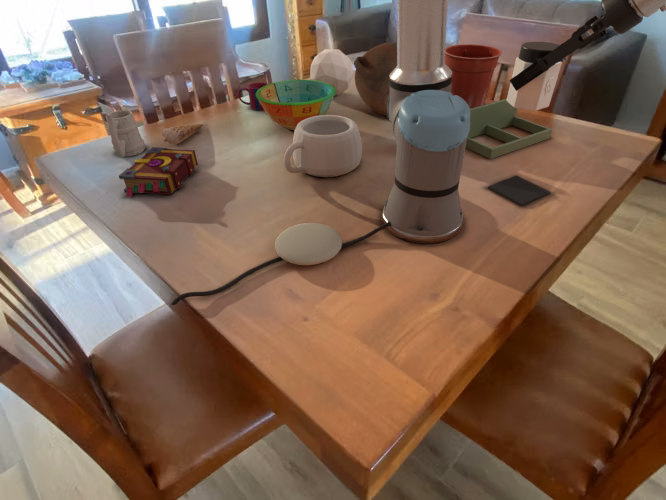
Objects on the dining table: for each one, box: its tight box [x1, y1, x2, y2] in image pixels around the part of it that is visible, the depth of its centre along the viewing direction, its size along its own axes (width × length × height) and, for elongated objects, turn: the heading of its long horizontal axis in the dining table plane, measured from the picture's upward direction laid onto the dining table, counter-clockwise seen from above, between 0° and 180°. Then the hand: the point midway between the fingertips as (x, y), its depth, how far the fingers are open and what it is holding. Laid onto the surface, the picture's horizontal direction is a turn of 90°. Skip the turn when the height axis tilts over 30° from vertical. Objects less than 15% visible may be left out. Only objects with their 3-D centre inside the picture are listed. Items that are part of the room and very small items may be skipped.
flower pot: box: [444, 43, 503, 109], centre depth 130 cm, size 16×16×16 cm
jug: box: [353, 41, 397, 119], centre depth 122 cm, size 20×20×30 cm
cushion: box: [274, 222, 343, 266], centre depth 76 cm, size 12×12×3 cm
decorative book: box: [118, 146, 199, 198], centre depth 98 cm, size 11×16×5 cm
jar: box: [506, 41, 563, 112], centre depth 91 cm, size 9×8×12 cm
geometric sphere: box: [309, 48, 354, 97], centre depth 143 cm, size 14×15×15 cm
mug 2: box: [283, 114, 363, 178], centre depth 100 cm, size 21×17×10 cm
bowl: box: [256, 79, 336, 131], centre depth 122 cm, size 22×22×10 cm
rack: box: [465, 98, 553, 160], centre depth 111 cm, size 22×13×8 cm, turn 121°
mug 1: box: [105, 109, 146, 158], centre depth 108 cm, size 8×12×12 cm, turn 5°
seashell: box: [161, 123, 205, 145], centre depth 118 cm, size 4×18×5 cm, turn 159°
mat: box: [487, 175, 552, 207], centre depth 92 cm, size 9×9×1 cm
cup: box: [237, 81, 269, 111], centre depth 136 cm, size 7×10×7 cm
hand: (520, 79), depth 93 cm, fingers closed on jar, 8 cm apart
